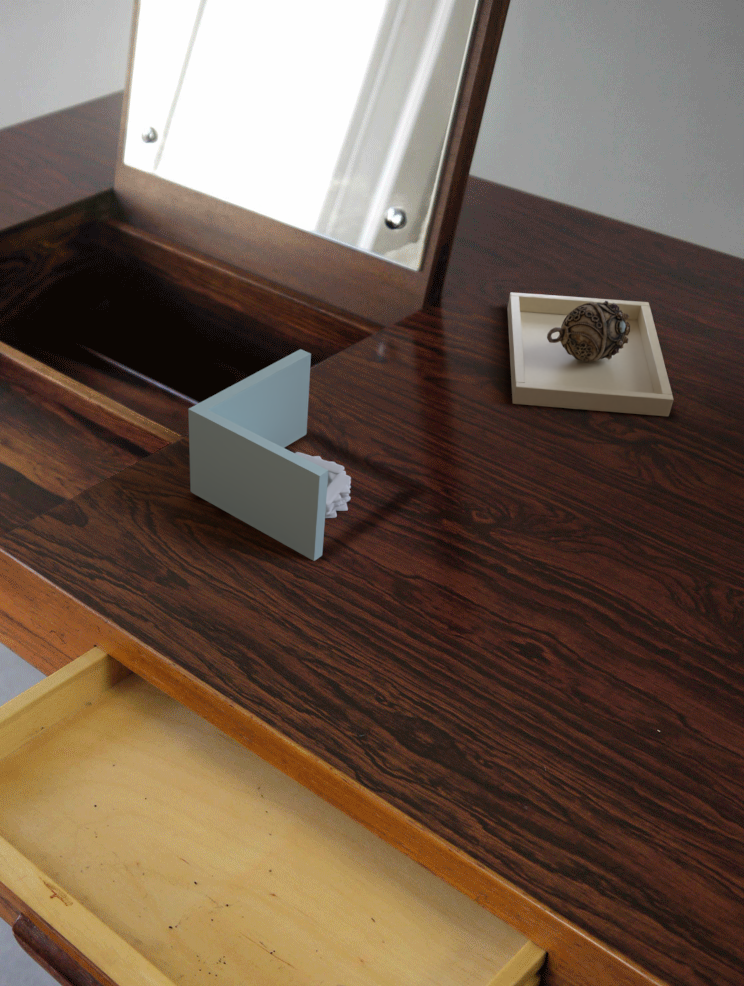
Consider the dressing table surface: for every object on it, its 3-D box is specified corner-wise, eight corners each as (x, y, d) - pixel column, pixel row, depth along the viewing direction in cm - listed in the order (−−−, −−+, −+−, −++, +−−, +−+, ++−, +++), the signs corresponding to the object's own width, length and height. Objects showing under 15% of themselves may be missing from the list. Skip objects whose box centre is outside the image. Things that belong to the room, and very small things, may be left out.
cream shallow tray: (506, 312, 107) (510, 291, 105) (643, 323, 106) (648, 301, 104) (511, 409, 94) (515, 386, 93) (667, 422, 93) (673, 399, 92)
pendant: (636, 367, 98) (651, 313, 95) (555, 378, 97) (567, 323, 93) (608, 340, 102) (622, 287, 98) (530, 350, 100) (540, 296, 97)
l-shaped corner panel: (313, 567, 79) (319, 475, 73) (190, 497, 84) (188, 408, 79) (417, 494, 85) (429, 406, 80) (296, 435, 91) (300, 349, 86)
